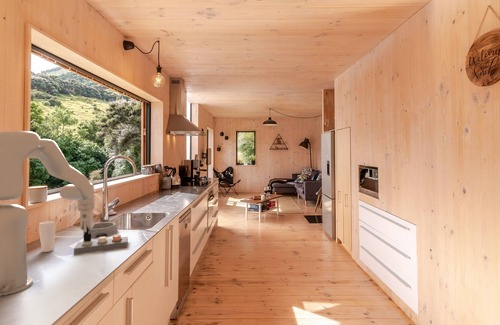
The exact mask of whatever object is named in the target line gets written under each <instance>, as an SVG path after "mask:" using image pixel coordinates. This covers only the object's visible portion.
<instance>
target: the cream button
mask: <svg viewBox="0 0 500 325" xmlns="http://www.w3.org/2000/svg"><path fill="white" fill-rule="evenodd" d="M107 239H108V238H107V236H98V238H97V240H98V244H102V243H107Z"/></svg>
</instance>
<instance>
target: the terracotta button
mask: <svg viewBox="0 0 500 325" xmlns="http://www.w3.org/2000/svg"><path fill="white" fill-rule="evenodd" d="M121 237H122V235H121V234H116V235H113V236H112V238H113V242H118V241H121Z"/></svg>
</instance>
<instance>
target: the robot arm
mask: <svg viewBox="0 0 500 325" xmlns="http://www.w3.org/2000/svg"><path fill="white" fill-rule="evenodd" d="M26 159H39V161H40V163H41V164H42V165H43V166H44V168H45V170H46V171H47V172H48V174H49V175H50V176H51V177H54V178H57V179H59V180H62V181H65V182H68V183H69V184H67V185H63V187H61V189H60V190H59V196H60V197H61V198H62V199H63V200H67V201H75V200H76V202H77V203H76V204H77V211H79V224H80V230H81V231H82V232H83V235H82V236H83V241H84V242H88V241H91V240H92V238H91V229H92V227H93V226H94V224H95V218H94V215H95V214H94V210H95V209H96V208H95V187H94V186H95V185H94V183H91V182H90V180H89V179H88V177H87V176H85V174H84V173H82V172H81V171H79V170H78V169H76V168H75V167H73V166H71V165H70V164H69V162H68V160H67V159H66V157H65V155H64V153H63V152H62V150H61V149H60V147H59V145H58V144H57V142H55V141H54V140H52V139H49V138H41V137H40V136H39V134H37V132H33V131H30V130H29V131H27V130H17V131H16V130H15V131H0V202H4V201H5V202H6V201H7V202H8V201H9V202H10V201H15V200H17V199H19V198H20V197H21V196H22V194H23V191H24V163H25V161H26ZM28 223H29V212H28V210H27V209H26V207H24V206H22V205H19V204H13V203H10V204H9V203H3V204H2V203H1V204H0V295H4V296H7V295H8V294H9V295H12V294H15V293H18V292H21V291H24V290H26V289H28V288H30V286H32V284H34V279H33V278H32V277H30V276H29V277H28V275H29V274H28V253H27V252H28V251H27V226H28Z"/></svg>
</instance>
